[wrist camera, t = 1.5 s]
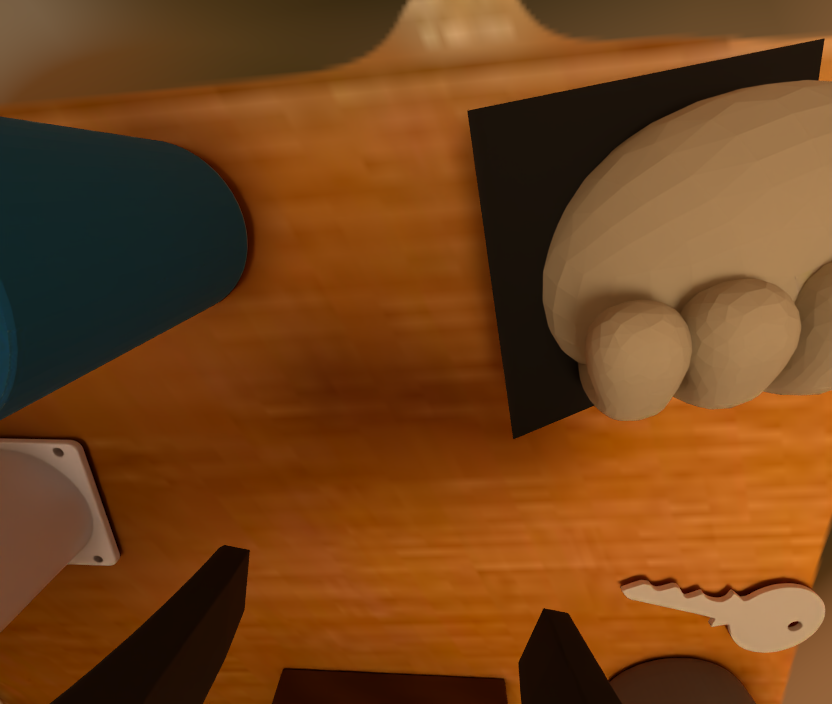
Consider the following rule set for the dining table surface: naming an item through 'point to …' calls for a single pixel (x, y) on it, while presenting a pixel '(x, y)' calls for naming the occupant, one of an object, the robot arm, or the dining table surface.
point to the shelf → (384, 689)
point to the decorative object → (662, 238)
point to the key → (745, 611)
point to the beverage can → (102, 250)
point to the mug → (679, 683)
